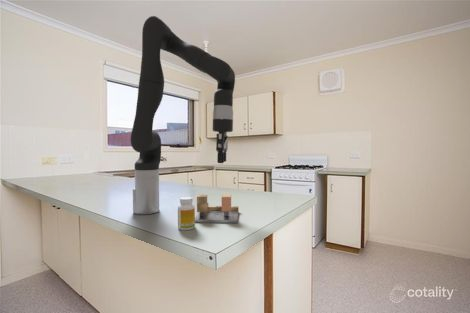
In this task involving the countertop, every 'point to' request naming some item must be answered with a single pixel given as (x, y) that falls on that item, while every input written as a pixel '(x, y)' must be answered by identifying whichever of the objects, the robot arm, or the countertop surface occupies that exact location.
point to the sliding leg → (226, 204)
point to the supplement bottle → (186, 214)
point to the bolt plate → (217, 217)
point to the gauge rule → (203, 206)
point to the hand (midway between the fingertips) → (221, 162)
